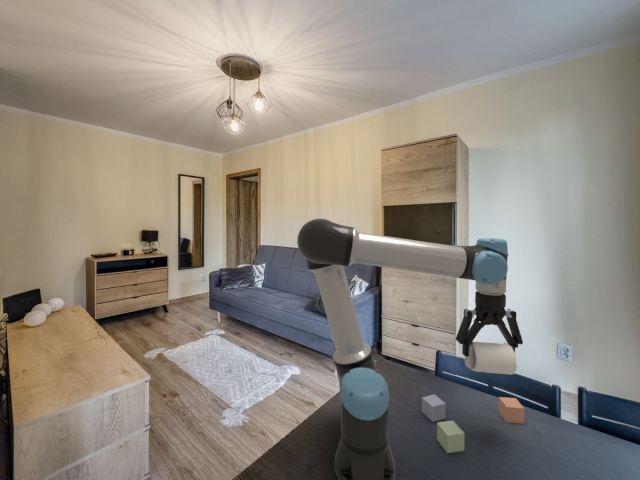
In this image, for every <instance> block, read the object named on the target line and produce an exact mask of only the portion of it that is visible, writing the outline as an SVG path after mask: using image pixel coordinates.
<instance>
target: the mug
mask: <svg viewBox="0 0 640 480" xmlns="http://www.w3.org/2000/svg"><path fill="white" fill-rule="evenodd" d="M470 345H471V346H472V347H473V355H472V369H471V371H473V372H477V373H478V372H479V373H487V374H488V373H490V374H500V375H510V376H511V375H512V376H513V375H515V373H516V372H517V365H518V364H517V356H516V352H515V353H514V351H513V349H512V347H511V346H510V345H508V343H507V344H504V343H498V342H497V343H494V342H482V341H481V342H480V341H472V343H471V344H470Z"/></svg>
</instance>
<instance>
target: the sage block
mask: <svg viewBox="0 0 640 480" xmlns="http://www.w3.org/2000/svg"><path fill="white" fill-rule="evenodd" d="M465 435H466V434H465V432H464V431H463V430H462V429H461V428H460V427H459V425H458V424H457V423H456V422H455V421H454V420H448V421H437V422H436V440H437V442H438V443H439V444H440V446H441V447H442V448H443V449H444V451H445V452H446V454H450V453H458V452H459V453H460V452H464V451H465Z"/></svg>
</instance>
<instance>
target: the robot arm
mask: <svg viewBox="0 0 640 480" xmlns="http://www.w3.org/2000/svg"><path fill="white" fill-rule="evenodd" d="M296 240H297V241H296V242H297V243H296V244H297V248H298V251H299V252H300V255H302V256H303V258H304V259H305V263H306V266H307V269H308V271H309V272H311V273H313V274H314V275H315V279H316V282H317V286H318V290H319V294H320V297H321V300H322V301H321V302H322V304H323V308H324V311H325V315H326V319H327V322H328V325H329V329H330V333H331V337H332V340H333V344H334V347H335V351H334V352H333V355H332V359H333V363H334V366H335V370H336V374H337V377H338V383H339V395H340V396H339V397H340V398H339V399H340V425H341V426H340V433H341V434H340V439H339V441H338V442H339V443H338V445H337V448H336V451H335V455H334V474H335V473H336V474H335V477H336V476H337V477H336V479H337V478H338V479H339V480H396V463H395V459H394V455H393V453H392V449H391V446H390V444H389V403H390V393H389V386H388V383H387V380H386V379H385V377H384V376H383V375H382V374H381V373H379V372H378V370H377V364H376V361H375V358H374V355H373V352H372V347H371V346H370V344H368V343H366V342H365V341H364V337H363V334H362V330H361V326H360V323H359V319H358V316H357V312H356V307H355V305H354V304H355V303H354V300H353V298H352V293H351V290H350V286H349V282H348V278H347V275H346V272H345V267H351V266H352V265H353V264H357V265H358V264H359V265H367V266H372V267H374V266H375V267H380V268H386V269H387V268H388V269H392V270H393V269H395V270H400V271H409V272H414V273H415V272H416V273H423V274H428V275H429V274H431V275H437V276H444V277H451V278H457V279H464V280H470V281H475V290H476V291H475V294H474V295H475V296H474V297H475V298H474V303H475V305H474V306H475V307H474V308H473V309H468V308H464V309H463V318H462V320H461V323H460V326H459V328H458V331H457V333H456V337H455V340H456V341H457V342H458V344H460V345H462V346H461V347H462V351H461V352H462V355H463V356H464V366H466V367H467V368H468V369H469V370H472V355H473V347H472V346H471V345H470V344H471V343H472V342H474V340H475V339H476V337H477V335H478V334H479V333H480V331H481V330H482V329H483V328H484V327H485V326H491V325H493V326H497V328H498V329H499V331H500V333H501V335H502V337H503V339H504V340H505V341H506V342H504V343H503V344H508V345H510V346H511V347H512V349H513V351H514V353H515V354H516V349H517V348H518V347H519V345H523V343H524V341H523V338H522V334H521V331H520V328H519V324H518V320H517V312H516V310H512V309H510V308H507V309H505V308H506V304H507V295H506V294H505V293H507V276H508V275H507V274H508V270H509V266H508V256H509V251H508V250H509V249H508V247H509V246H508V242H507V240H505V239H503V238H490V237H489V238H486V237H485V238H478V239H477V240H476V243H475V245H449V244H443V243H435V242H430V241H429V242H427V241H422V240H415V239H414V240H413V239H410V238H409V239H408V238H402V237H394V236H387V235H381V234H374V233H366V232H359V231H358V229H356V227H355V226H348V225H342V224H340V223H335V222H333V221H331V220H329V219H325V218H315V219H311V220H309V221H307V222H306V223H304V225H302V227H301V228H300V230H299V232H298V235H297V238H296ZM344 266H345V267H344ZM504 317H506V320H507V324H508V327H509V329H508V327H507V325H506V323H505V321H504V320H503V319H504ZM473 318H474V320H473ZM472 321H473V323H472ZM471 324H472V325H471ZM338 479H337V480H338Z"/></svg>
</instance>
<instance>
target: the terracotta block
mask: <svg viewBox="0 0 640 480" xmlns="http://www.w3.org/2000/svg"><path fill="white" fill-rule="evenodd" d="M525 411H526V409H525V407H524V406H523V405H522V404H521V403H520V401H519V400H518V399H517V398H516V397H506V396H505V397H502V396H499V397H498V413H499V414H500V415H501V417H502V419H503V420H504V421H505V422H506V423H509V424H511V423H512V424H520V425H521V424H523V425H525Z"/></svg>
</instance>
